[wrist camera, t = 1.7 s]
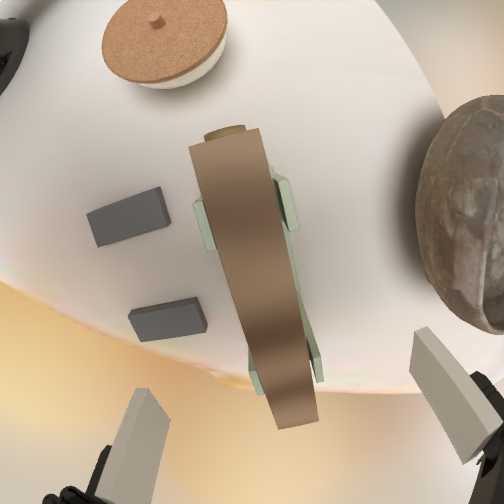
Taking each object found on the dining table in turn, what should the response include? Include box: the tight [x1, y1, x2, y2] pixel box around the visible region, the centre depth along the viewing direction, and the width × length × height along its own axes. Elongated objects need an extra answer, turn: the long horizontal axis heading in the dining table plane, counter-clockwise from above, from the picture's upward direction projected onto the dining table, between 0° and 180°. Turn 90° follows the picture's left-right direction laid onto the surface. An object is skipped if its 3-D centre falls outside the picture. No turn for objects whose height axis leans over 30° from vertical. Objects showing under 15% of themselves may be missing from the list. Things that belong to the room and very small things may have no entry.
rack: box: [193, 166, 324, 395], centre depth 23 cm, size 17×6×12 cm, turn 14°
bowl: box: [415, 95, 504, 335], centre depth 20 cm, size 24×24×15 cm
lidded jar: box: [102, 0, 227, 89], centre depth 17 cm, size 11×11×9 cm
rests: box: [87, 187, 208, 342], centre depth 29 cm, size 17×9×2 cm, turn 14°
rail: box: [189, 125, 319, 429], centre depth 18 cm, size 23×4×5 cm, turn 14°
